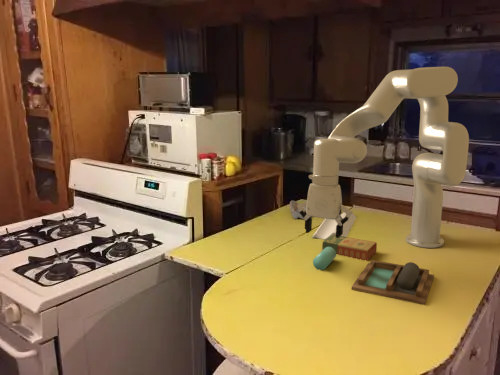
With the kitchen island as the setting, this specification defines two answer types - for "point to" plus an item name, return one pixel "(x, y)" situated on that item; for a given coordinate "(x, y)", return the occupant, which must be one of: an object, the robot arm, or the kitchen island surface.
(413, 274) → the dark gray cylinder
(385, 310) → the kitchen island surface
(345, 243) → the carton
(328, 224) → the crown molding
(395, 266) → the rack
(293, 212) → the stone
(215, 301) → the kitchen island surface
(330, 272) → the kitchen island surface
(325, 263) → the mint green cylinder
